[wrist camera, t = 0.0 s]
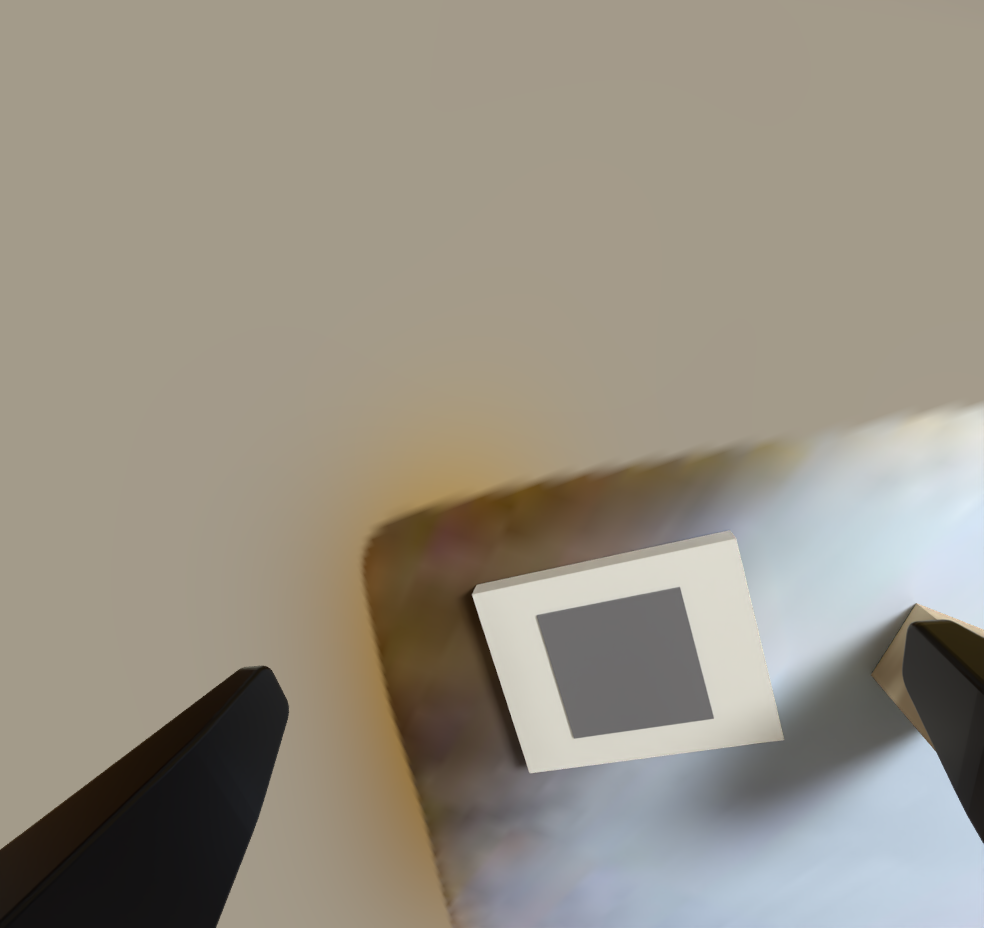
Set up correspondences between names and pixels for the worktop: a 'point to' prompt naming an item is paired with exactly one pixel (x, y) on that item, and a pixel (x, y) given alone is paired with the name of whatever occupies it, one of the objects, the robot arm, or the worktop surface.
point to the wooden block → (891, 662)
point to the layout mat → (631, 655)
